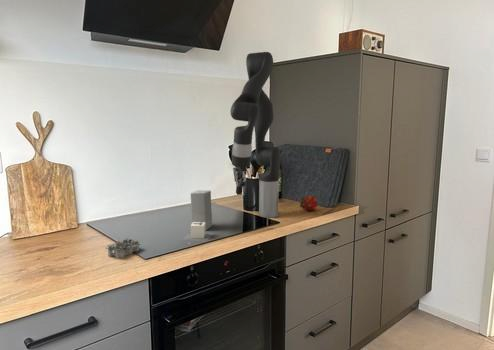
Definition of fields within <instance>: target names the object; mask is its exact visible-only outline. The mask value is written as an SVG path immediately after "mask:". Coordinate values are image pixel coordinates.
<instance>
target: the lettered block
mask: <svg viewBox="0 0 494 350" xmlns="http://www.w3.org/2000/svg"><path fill="white" fill-rule="evenodd" d="M190 232H191V238H204V237H205V233H206V230H205V222H193V223H192V222H191V224H190Z"/></svg>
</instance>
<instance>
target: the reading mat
mask: <svg viewBox="0 0 494 350" xmlns="http://www.w3.org/2000/svg"><path fill="white" fill-rule="evenodd" d="M214 234H215V233H214V232H205V237H204V238H191V231H189V233H187V234H186V235H185V236H184V237H183V238H182V239H181V240H183V241H196V242H197V241H198V242H207V241H208V240H209V239H210V238H211V237H212V236H213V235H214Z"/></svg>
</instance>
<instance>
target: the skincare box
mask: <svg viewBox="0 0 494 350" xmlns="http://www.w3.org/2000/svg"><path fill="white" fill-rule="evenodd" d="M211 193H212V191H211V190H210V189H209V190H206V189H205V190H203V189H202V190H200V189H198V190H195V191H192V192H190V205H191V207H190V208H191V224H192V223H193V222H205V231H207V230H209V229H210V228H211V227H212V226H213V214H212V211H213V210H212V194H211Z"/></svg>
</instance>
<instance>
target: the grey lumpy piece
mask: <svg viewBox="0 0 494 350" xmlns="http://www.w3.org/2000/svg"><path fill="white" fill-rule="evenodd" d="M141 244H142V242H141V241H140V242H139V241H138V240H135V239H131V238H129V237H126V238H125V239H123V240H120V241H117V242H114V243H112V244H107V246H106V247H105V250H107V253H108V257H115V258H116V259H120V258H122V259H123V258H125V257H126V256H127V255H132V254H133V253H134V252H139V251H140V246H141Z"/></svg>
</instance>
